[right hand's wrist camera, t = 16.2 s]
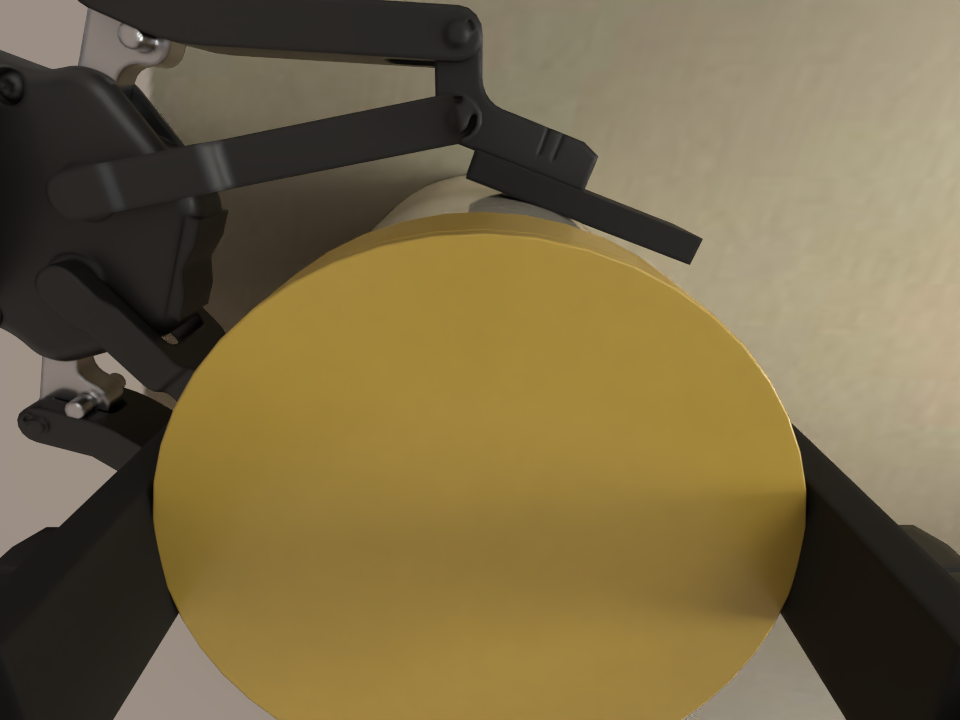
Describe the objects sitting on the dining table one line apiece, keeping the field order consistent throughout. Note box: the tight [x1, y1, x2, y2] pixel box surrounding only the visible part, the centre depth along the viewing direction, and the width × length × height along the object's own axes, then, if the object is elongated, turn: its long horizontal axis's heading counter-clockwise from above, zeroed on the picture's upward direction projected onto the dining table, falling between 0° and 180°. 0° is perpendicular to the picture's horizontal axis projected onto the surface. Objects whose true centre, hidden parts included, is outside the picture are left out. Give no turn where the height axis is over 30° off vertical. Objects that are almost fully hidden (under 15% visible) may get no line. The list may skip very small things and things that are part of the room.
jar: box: [370, 175, 591, 233], centre depth 18 cm, size 10×10×16 cm
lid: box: [153, 212, 806, 720], centre depth 11 cm, size 11×11×2 cm
